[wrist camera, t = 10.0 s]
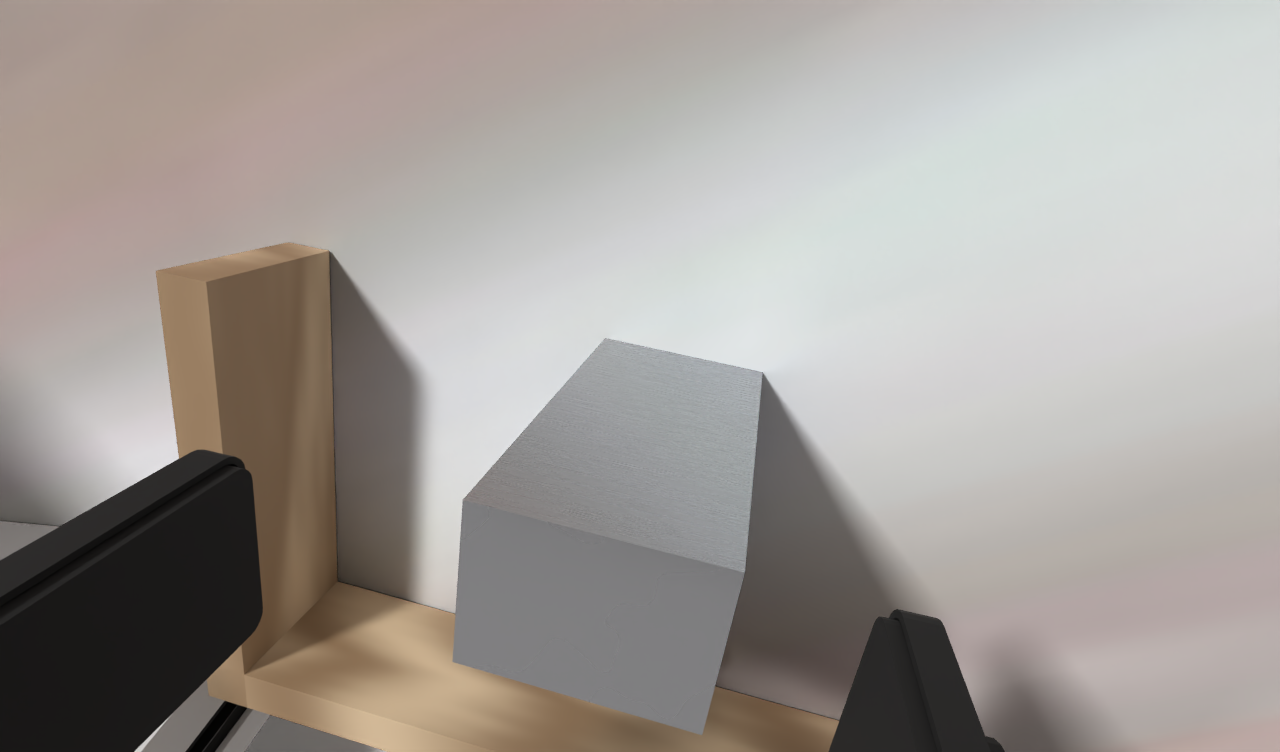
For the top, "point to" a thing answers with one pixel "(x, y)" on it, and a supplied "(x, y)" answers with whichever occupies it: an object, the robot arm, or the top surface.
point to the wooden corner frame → (307, 551)
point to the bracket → (616, 536)
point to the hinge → (203, 725)
